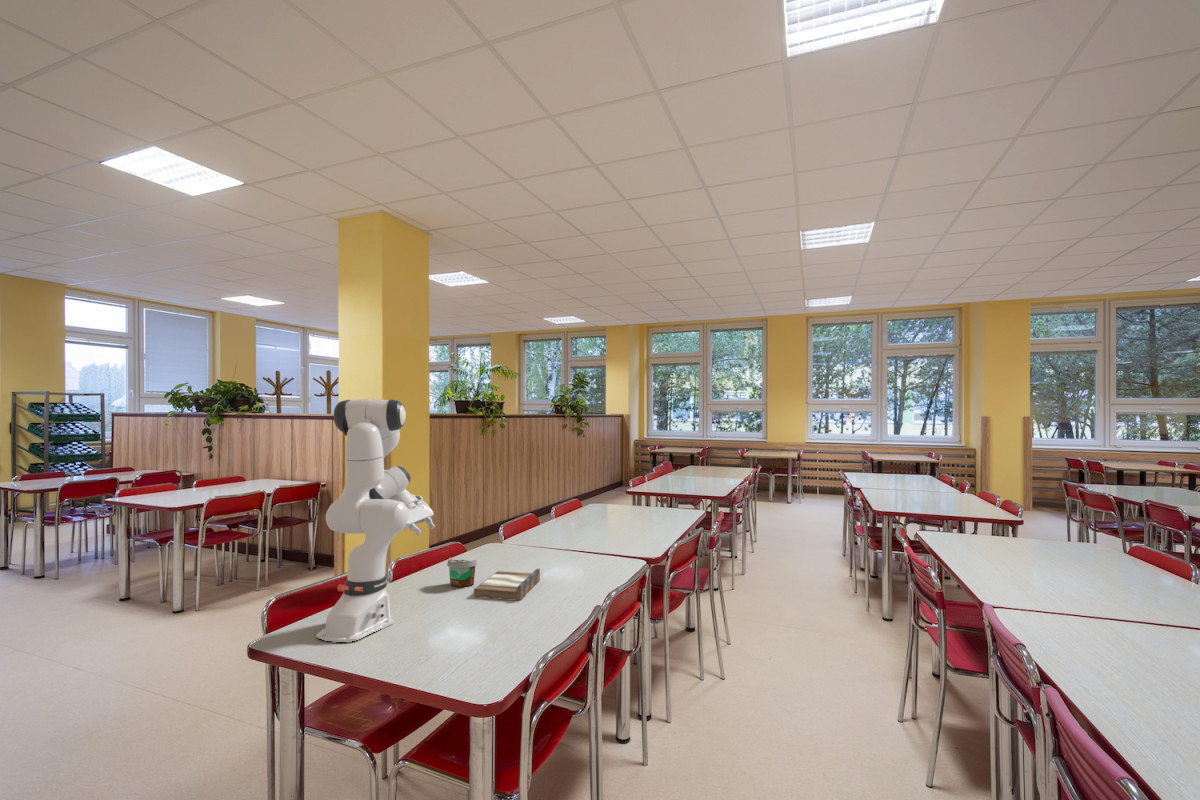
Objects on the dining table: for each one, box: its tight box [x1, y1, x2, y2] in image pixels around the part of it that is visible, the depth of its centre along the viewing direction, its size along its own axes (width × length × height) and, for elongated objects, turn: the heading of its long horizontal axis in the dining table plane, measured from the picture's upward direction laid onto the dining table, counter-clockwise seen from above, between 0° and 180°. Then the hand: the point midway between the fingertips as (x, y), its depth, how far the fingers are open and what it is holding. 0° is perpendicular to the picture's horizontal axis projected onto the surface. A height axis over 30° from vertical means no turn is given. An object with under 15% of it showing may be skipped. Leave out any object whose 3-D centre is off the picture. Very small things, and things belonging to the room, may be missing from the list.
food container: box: [446, 557, 478, 589], centre depth 197 cm, size 12×6×10 cm, turn 73°
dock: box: [473, 568, 541, 601], centre depth 194 cm, size 22×18×5 cm
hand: (426, 530), depth 200 cm, fingers open, 8 cm apart
